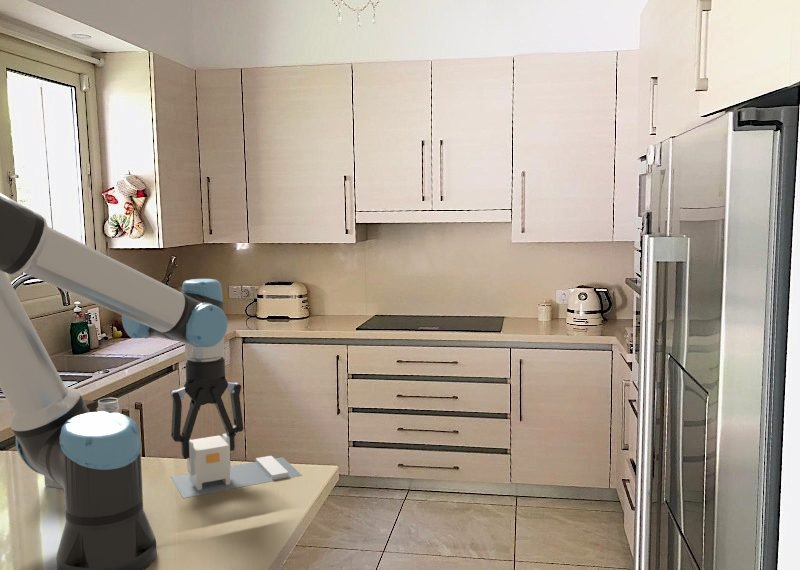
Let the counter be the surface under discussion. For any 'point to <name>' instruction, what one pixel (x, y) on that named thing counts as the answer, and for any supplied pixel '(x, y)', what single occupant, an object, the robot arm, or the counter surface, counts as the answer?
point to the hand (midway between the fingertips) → (209, 469)
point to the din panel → (240, 476)
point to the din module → (210, 461)
